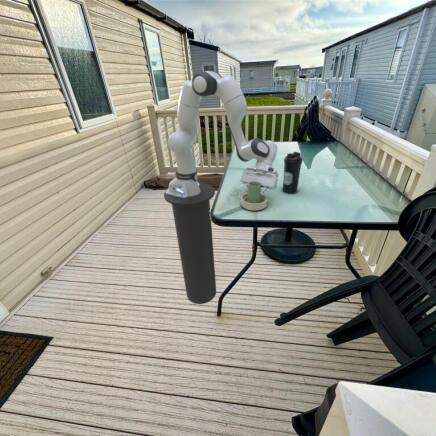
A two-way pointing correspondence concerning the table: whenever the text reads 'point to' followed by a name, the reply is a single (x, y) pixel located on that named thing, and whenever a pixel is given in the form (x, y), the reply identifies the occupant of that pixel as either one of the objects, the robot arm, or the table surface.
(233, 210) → the table surface
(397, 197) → the table surface
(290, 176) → the water bottle
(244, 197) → the bowl
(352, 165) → the table surface
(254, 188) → the tumbler
